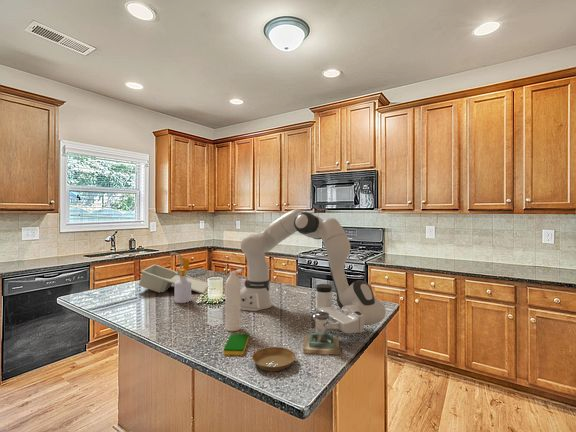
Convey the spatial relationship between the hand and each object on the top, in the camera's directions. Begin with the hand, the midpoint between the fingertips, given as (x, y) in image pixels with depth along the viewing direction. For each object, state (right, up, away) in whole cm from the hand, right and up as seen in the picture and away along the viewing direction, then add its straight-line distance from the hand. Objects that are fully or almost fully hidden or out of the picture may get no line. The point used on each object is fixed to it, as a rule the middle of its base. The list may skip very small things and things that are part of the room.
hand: (319, 321), depth 119 cm
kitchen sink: (-85, -8, +84) cm, 119 cm away
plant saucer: (-17, -10, -13) cm, 23 cm away
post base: (+1, -9, +1) cm, 10 cm away
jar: (+7, -9, +46) cm, 47 cm away
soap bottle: (-71, -8, +58) cm, 92 cm away
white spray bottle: (-36, -9, +19) cm, 41 cm away
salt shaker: (+1, -8, 0) cm, 8 cm away
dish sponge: (-32, -10, 0) cm, 33 cm away
